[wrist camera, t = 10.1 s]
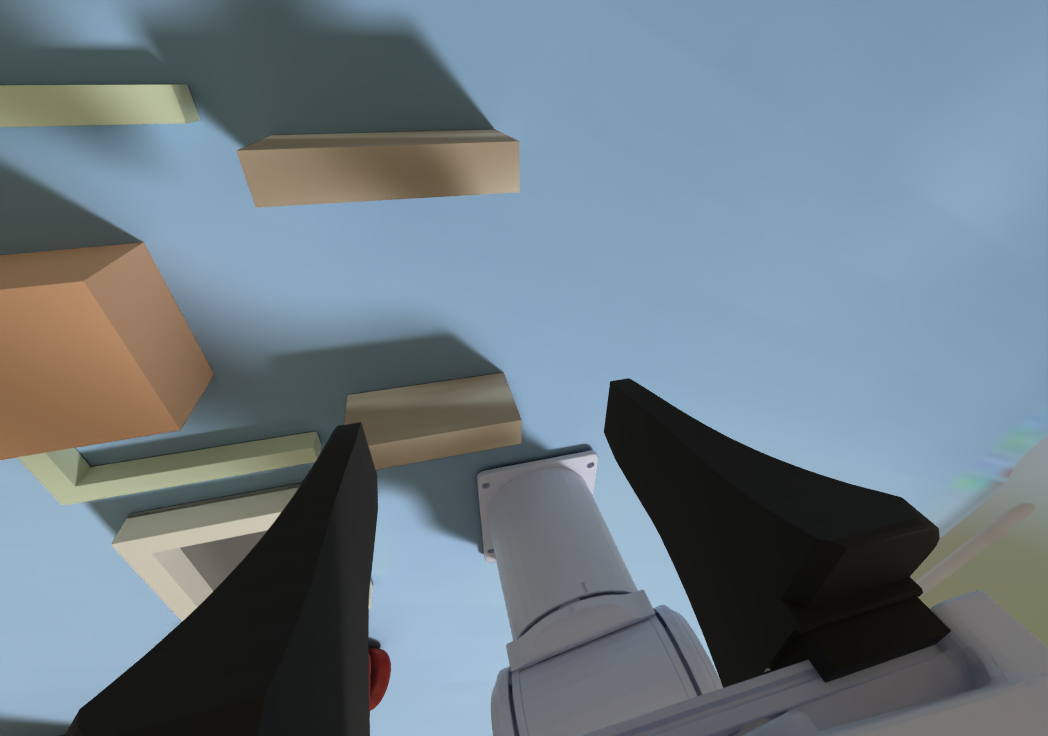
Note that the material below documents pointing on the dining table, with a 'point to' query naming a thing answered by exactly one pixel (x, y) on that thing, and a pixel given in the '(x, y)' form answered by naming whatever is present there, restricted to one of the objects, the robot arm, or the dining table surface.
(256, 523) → the trap basin
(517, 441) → the channel walls
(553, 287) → the dining table surface
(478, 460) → the dining table surface
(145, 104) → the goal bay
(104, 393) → the terracotta block
